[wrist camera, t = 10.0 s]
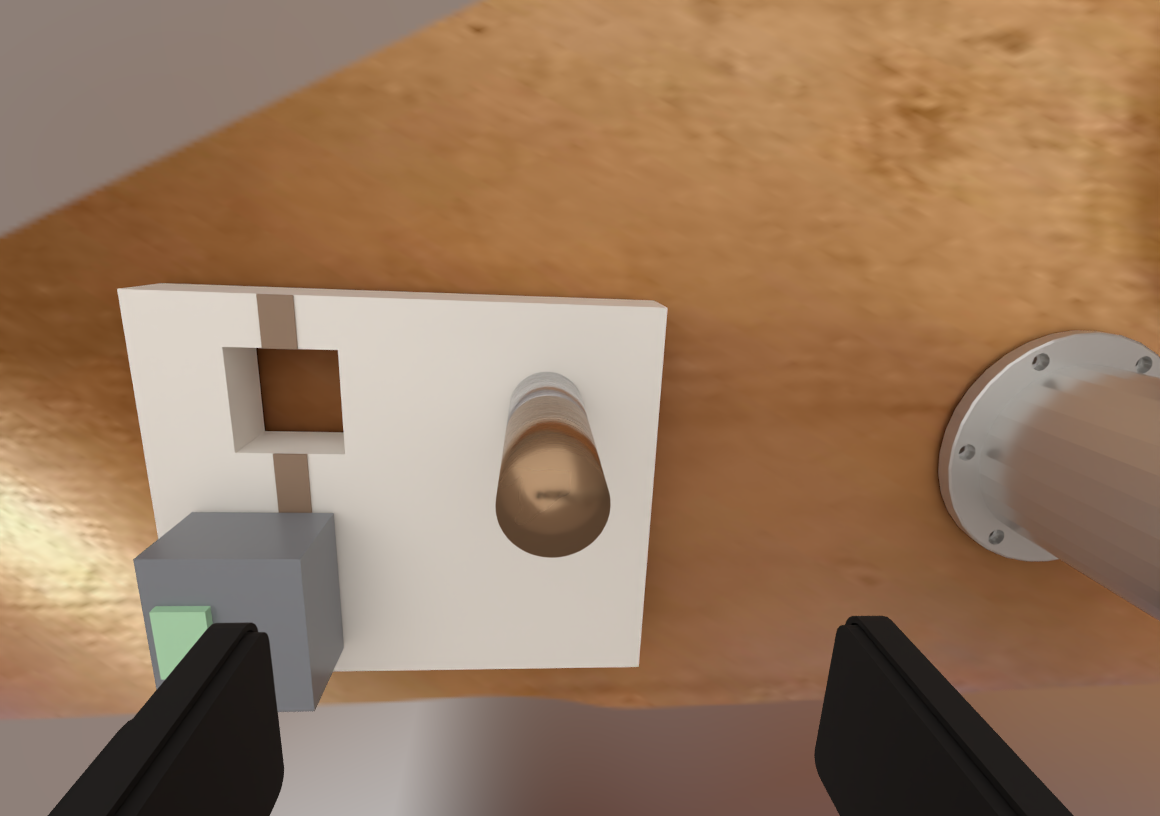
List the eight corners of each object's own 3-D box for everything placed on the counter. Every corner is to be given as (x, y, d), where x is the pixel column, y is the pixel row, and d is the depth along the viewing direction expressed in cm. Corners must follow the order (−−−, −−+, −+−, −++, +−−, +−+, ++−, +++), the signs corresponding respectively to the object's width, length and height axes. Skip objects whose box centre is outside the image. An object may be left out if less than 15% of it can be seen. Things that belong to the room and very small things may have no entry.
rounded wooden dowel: (584, 372, 26) (613, 452, 16) (581, 442, 27) (607, 557, 17) (510, 371, 26) (495, 451, 16) (509, 441, 27) (495, 557, 17)
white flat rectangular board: (654, 300, 28) (667, 308, 25) (629, 629, 33) (638, 668, 30) (162, 283, 27) (115, 289, 24) (213, 633, 31) (179, 675, 29)
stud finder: (333, 512, 27) (296, 564, 23) (343, 647, 29) (311, 718, 24) (191, 512, 26) (126, 564, 22) (211, 649, 28) (155, 721, 24)
